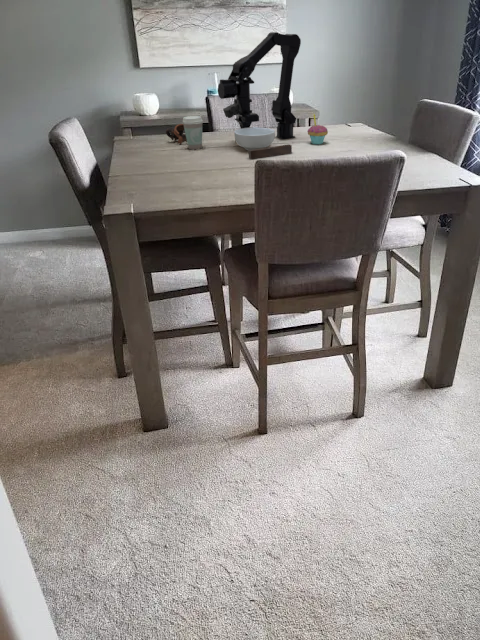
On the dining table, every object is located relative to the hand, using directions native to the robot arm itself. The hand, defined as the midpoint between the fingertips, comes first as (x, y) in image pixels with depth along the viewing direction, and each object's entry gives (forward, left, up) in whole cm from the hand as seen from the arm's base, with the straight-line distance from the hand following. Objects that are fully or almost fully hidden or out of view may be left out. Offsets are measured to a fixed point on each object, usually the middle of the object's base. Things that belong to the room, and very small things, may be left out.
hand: (244, 136), depth 213 cm
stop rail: (0, +25, -3) cm, 25 cm away
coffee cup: (+21, -5, -3) cm, 22 cm away
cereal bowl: (0, +11, -3) cm, 11 cm away
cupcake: (-27, +16, -3) cm, 32 cm away
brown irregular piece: (+23, -20, -3) cm, 31 cm away
